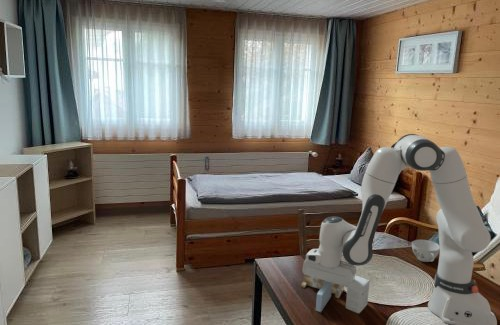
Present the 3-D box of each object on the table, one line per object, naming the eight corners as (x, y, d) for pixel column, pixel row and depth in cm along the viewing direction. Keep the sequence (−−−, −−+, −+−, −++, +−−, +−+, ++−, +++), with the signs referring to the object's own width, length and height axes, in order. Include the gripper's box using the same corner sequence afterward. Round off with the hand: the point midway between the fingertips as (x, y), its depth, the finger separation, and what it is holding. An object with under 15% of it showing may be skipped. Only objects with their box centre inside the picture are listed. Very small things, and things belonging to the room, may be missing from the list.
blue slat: (326, 295, 150) (327, 279, 149) (330, 297, 149) (332, 281, 148) (315, 310, 140) (316, 293, 139) (320, 312, 139) (321, 295, 138)
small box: (354, 299, 148) (356, 274, 146) (367, 304, 145) (370, 279, 142) (345, 308, 142) (347, 283, 140) (359, 314, 138) (361, 288, 136)
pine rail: (343, 290, 154) (345, 272, 152) (338, 298, 148) (340, 280, 147) (307, 279, 162) (308, 262, 160) (301, 286, 156) (302, 269, 154)
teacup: (406, 253, 189) (407, 238, 188) (431, 254, 189) (433, 239, 187) (418, 267, 175) (420, 252, 173) (445, 268, 174) (447, 252, 173)
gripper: (358, 261, 142) (355, 294, 145) (308, 248, 152) (305, 279, 155) (354, 268, 137) (350, 302, 140) (302, 254, 146) (299, 286, 149)
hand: (326, 290), depth 147 cm, fingers open, 8 cm apart
